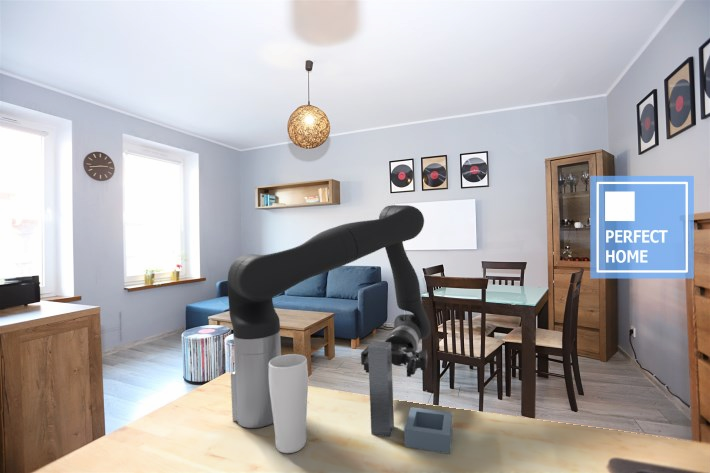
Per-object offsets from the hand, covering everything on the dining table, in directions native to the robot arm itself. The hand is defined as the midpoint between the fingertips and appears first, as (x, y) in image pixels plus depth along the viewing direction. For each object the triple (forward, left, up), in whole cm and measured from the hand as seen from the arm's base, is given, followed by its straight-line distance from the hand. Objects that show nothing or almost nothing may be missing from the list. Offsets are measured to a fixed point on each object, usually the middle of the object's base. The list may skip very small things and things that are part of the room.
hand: (387, 370), depth 68 cm
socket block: (+9, -6, -9) cm, 14 cm away
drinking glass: (-14, -14, -9) cm, 22 cm away
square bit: (0, -6, -9) cm, 11 cm away
